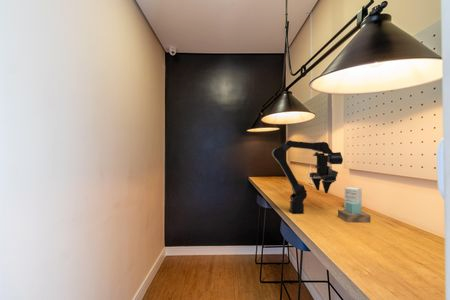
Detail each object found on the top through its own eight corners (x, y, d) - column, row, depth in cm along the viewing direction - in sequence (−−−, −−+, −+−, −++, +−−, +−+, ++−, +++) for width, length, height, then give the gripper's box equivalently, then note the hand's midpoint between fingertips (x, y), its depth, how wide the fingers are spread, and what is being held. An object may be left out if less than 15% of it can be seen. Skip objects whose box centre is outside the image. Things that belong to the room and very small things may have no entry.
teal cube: (352, 214, 112) (352, 204, 112) (345, 211, 117) (345, 201, 117) (361, 213, 112) (361, 203, 112) (353, 211, 117) (353, 201, 117)
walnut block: (347, 223, 110) (347, 215, 110) (337, 217, 120) (337, 209, 120) (370, 223, 110) (370, 215, 110) (358, 217, 120) (358, 210, 120)
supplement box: (349, 206, 142) (349, 186, 142) (362, 208, 136) (362, 188, 136) (344, 208, 137) (344, 187, 137) (357, 211, 131) (357, 189, 131)
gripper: (345, 165, 118) (345, 194, 118) (326, 163, 137) (326, 188, 137) (325, 165, 117) (325, 195, 117) (309, 163, 136) (309, 188, 136)
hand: (322, 191), depth 127 cm, fingers open, 9 cm apart
